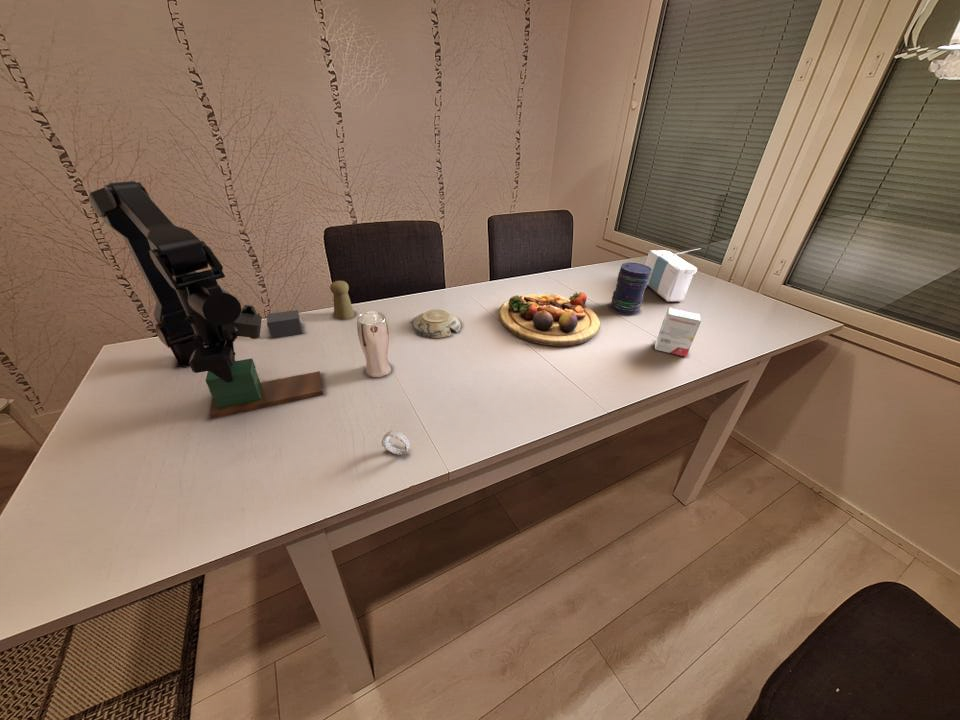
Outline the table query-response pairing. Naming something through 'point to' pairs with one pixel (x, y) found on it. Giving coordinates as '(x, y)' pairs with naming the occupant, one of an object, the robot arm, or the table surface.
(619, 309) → the storage jar
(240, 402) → the green book
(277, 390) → the shelf board
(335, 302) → the olive green pawn
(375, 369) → the beer glass
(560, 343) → the wooden plate
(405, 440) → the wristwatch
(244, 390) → the green book
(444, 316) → the decorative bowl
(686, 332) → the ink box
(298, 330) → the grey book
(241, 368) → the green rectangular block
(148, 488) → the table surface
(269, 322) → the grey book
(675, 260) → the radio
